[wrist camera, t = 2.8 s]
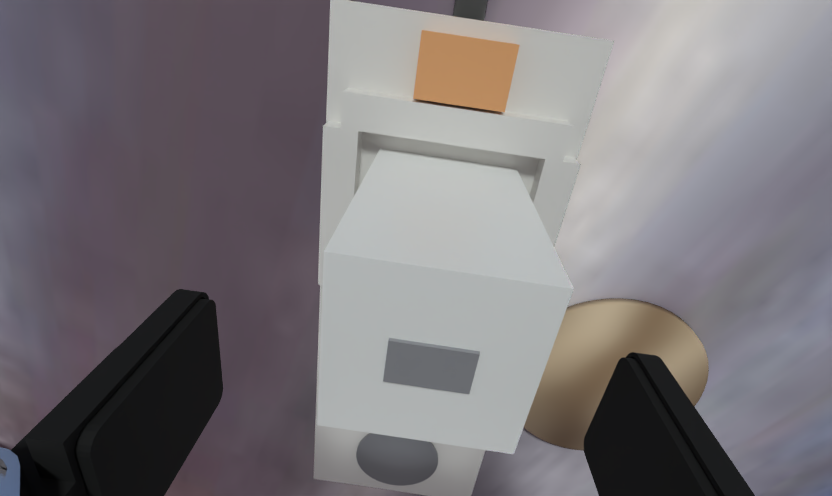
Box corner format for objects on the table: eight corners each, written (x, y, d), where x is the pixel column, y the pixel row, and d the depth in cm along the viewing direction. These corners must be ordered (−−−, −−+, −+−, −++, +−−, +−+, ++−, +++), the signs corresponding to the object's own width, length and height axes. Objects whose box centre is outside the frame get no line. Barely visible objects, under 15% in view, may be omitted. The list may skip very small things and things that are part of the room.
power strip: (378, -393, 12) (341, -610, 8) (687, -345, 12) (810, -537, 8) (330, 421, 28) (309, 492, 24) (466, 441, 28) (469, 515, 24)
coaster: (739, 315, 22) (746, 322, 22) (656, 453, 28) (660, 462, 27) (530, 284, 22) (532, 290, 22) (486, 428, 28) (487, 436, 27)
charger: (516, 169, 16) (574, 291, 8) (487, 284, 18) (514, 457, 11) (380, 148, 16) (322, 254, 8) (368, 266, 18) (315, 428, 11)
